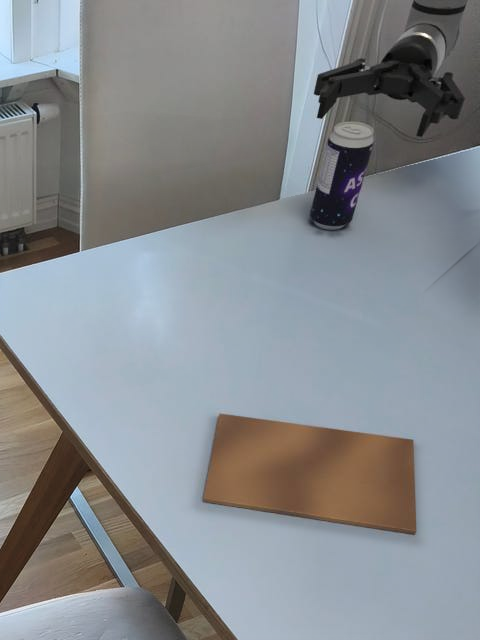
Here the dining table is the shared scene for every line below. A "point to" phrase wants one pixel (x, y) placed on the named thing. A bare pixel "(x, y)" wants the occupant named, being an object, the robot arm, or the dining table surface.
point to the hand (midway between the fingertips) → (371, 116)
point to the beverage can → (342, 175)
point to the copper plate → (313, 473)
